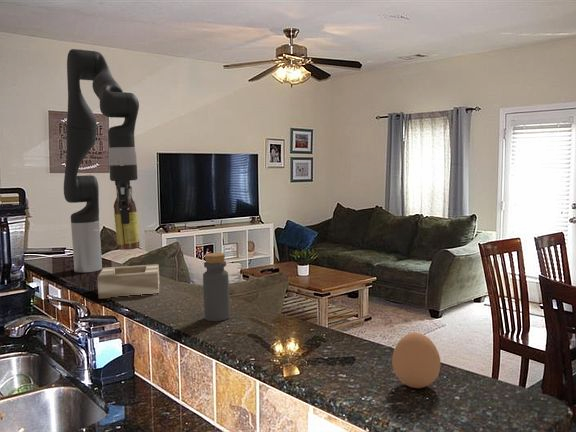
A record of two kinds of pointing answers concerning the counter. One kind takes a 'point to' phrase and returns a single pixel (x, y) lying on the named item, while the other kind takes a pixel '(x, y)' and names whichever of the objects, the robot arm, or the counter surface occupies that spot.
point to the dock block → (128, 281)
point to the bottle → (216, 288)
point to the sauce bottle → (126, 226)
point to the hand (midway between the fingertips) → (126, 222)
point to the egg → (416, 360)
